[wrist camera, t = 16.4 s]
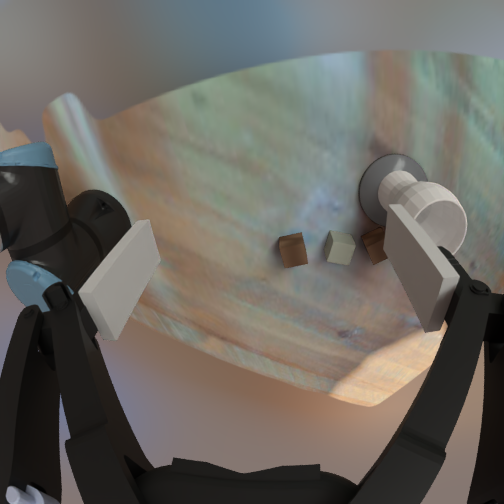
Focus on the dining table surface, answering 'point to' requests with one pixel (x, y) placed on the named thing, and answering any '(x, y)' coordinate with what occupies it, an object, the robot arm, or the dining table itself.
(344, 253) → the block
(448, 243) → the cup
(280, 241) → the block
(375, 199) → the coaster
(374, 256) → the block
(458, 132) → the dining table surface
